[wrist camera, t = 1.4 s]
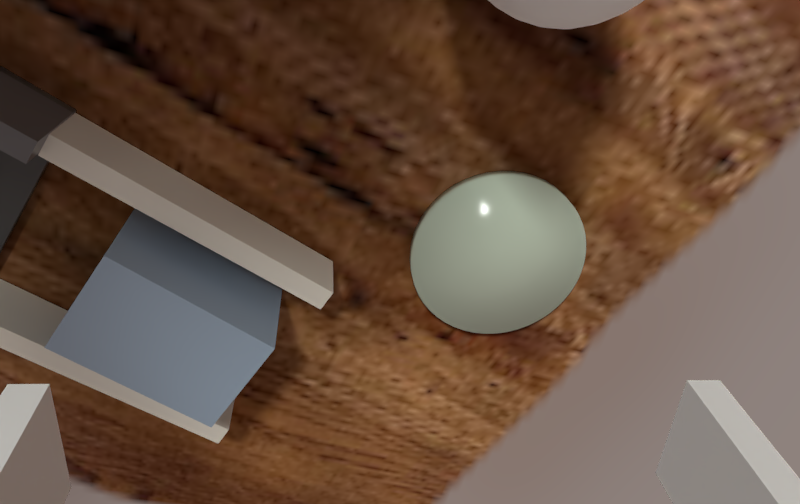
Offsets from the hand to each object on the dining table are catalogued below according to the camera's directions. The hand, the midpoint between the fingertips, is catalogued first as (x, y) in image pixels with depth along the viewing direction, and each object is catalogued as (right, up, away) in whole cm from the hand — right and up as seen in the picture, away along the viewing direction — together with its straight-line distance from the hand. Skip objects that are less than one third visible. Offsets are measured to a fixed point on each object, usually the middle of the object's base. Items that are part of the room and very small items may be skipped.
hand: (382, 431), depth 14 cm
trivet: (+6, +4, +25) cm, 26 cm away
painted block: (-12, +2, +24) cm, 27 cm away
